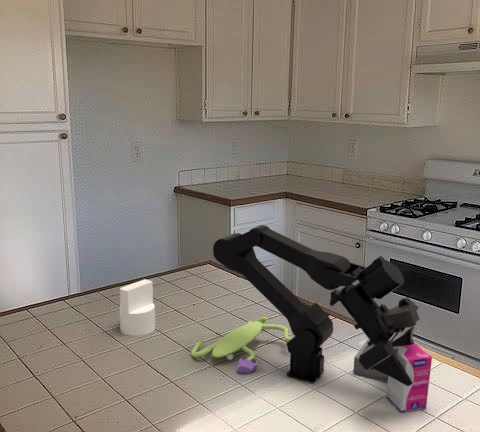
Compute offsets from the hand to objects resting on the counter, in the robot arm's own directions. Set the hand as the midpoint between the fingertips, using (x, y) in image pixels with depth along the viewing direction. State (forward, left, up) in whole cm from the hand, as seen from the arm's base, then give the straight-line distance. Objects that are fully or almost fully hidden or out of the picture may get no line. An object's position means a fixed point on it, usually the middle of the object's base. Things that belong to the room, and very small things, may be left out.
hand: (416, 375), depth 106 cm
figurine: (-39, +6, -7) cm, 40 cm away
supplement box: (-1, 0, -7) cm, 7 cm away
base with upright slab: (-70, +1, -7) cm, 71 cm away
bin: (-8, +12, -7) cm, 16 cm away
